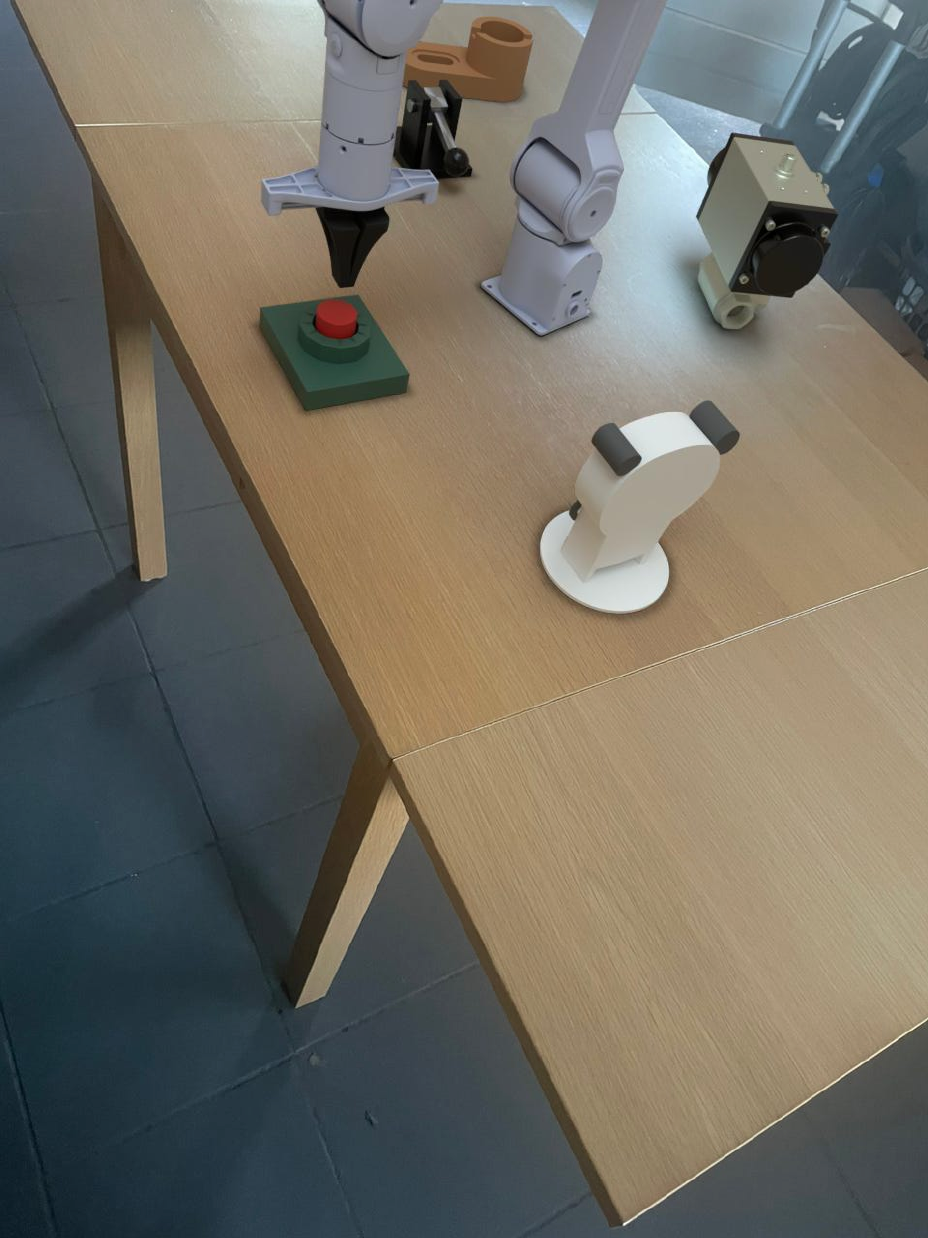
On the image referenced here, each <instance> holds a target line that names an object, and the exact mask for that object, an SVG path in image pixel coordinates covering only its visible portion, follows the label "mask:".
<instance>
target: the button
mask: <svg viewBox="0 0 928 1238" xmlns="http://www.w3.org/2000/svg"><path fill="white" fill-rule="evenodd" d="M356 320H357V312H356V310H355V308H354V307H353V306H352V305H350V304H349V303H347V302H344V301H341V300H326V301H323V302H322V303H320V304H319V305H318V307H317V313H316V329H317V331H318V332H319V333H321V334H322V335H324V336H326V337H329V338H334V339H339V340H340V339H346V338H350V337H352V336H353V335H354V333H355V328H356Z"/></svg>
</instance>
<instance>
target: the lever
mask: <svg viewBox="0 0 928 1238" xmlns="http://www.w3.org/2000/svg"><path fill="white" fill-rule="evenodd" d="M423 90H424V91H425V92H426V93H427V95H428V96H429V97H430V98H431V105H430V111H429V117H428V123H427V124H432V123H434V125H435V128H436V130H437V133H438V135H439V138H440V140H441V143H442V145H443V148H444V150H445V152H446V153H445V155H444V158H443V166H444V169H445V170H446V172H447V173H448V174H449V175H451V176H455V177H454V178H458V177H457V176H461V175H463V174H464V173H465V172H466V171H467V169H468V166H469V165H470V158H469V156H468V153H467V152H466V151H465V150H464V149H463V148H461V147H458V146H457V144H456V141H455V142H454V139H453V137H452V135H451V132H450V130H449V127H448V125H447V122H446V120H445V117H444V116H445V114H446V111H447V109H448V105H447V102H446V100H445V97H444V95H443V93H442V90H441V88H440V87H424V88H423Z"/></svg>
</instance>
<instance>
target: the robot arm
mask: <svg viewBox="0 0 928 1238" xmlns="http://www.w3.org/2000/svg"><path fill="white" fill-rule="evenodd" d="M316 2H317V4H318V5H319V7H320V8H321V10H322V12H323V13H322V14H323V16H324V31H323V33H324V34H323V35H324V37H325V38H326V44H325V45H326V46H325V61H324V74H323V90H322V101H321V114H320V115H321V117H320V132H319V146H318V160H317V165H314V166H312V167H308V168H304V169H302V170H298V171H295V172H291V173H288V174H285V175H281V176H276V177H270V178H262V179H260V180H261V183H260V184H261V185H260V187H261V188H260V203H261V204H262V207H263V208H264V210H265V212H266V213H267V215H268V216H269V217H272V216H281V215H282V211H288V210H302V209H315V211H316V213H317V214H316V215H317V216H318V220H319V222H320V225H321V227H322V230H323V234H324V237H325V240H326V244H327V250H328V254H329V260H330V269H331V277H332V279H333V280H334V281H335V283H336V285H337V287H338V288H339V289H346V288H347V289H349V288H354V287H355V285H356V282H357V280H358V277H359V275H360V272H361V271H362V270H361V269H362V268H363V266H364V264H365V261H366V260H367V257H368V256H369V254H370V253H371V251H372V249H373V248H374V246H375V245H376V244H377V243H378V242H379V240H380V239H381V238H382V237H383V236H384V235H385V234H386V233H387V232H388V230H389V226H390V221H391V220H390V219H391V217H390V216H389V214H388V212H387V211H386V209H385V207H387V206H389V205H392V204H395V203H402V202H417V201H421V203H422V204H423V205H435V204H436V202H437V196H438V192H439V191H438V190H439V186H440V182H439V180H438V178H435V177H434V175H433V174H432V172H431V171H430V170H413V169H405V168H402V167H397V166H392V165H393V159H394V155H393V152H394V145H395V137H396V129H397V126H398V121H399V114H400V108H401V107H400V105H401V99H402V92H403V78H404V70H405V63H406V56H407V50H408V49H411V48H413V47H415V46H416V45H417V43H418V42H419V41H421V40H422V38H423V37H424V35H425V34H426V31H427V29H428V28H429V25H430V22H431V20H432V17H434V14H435V13H436V12H437V11H438V10H440V9H441V4H443V3H444V0H316ZM667 3H668V0H598V1H597V3H596V7H595V9H594V11H593V15H592V18H591V20H590V23H589V25H588V29H587V31H586V34H585V37H584V39H583V41H582V44H581V47H580V51H579V53H578V56H577V58H576V61H575V64H574V67H573V70H572V72H571V74H570V75H571V76H570V77H569V81H568V83H567V86H566V88H565V90H564V93H563V96H562V99H561V102H560V105H559V108H558V110H557V111H554V112H551V113H547V114H545V115H542V116H540V117H538V118H536V119H534V121H533V123H532V126H531V129H530V131H529V133H528V136H527V138H526V139H525V141H524V142H523V144H522V145H521V146H520V147H519V148H518V150H517V152H516V154H515V156H514V158H513V160H512V162H511V166H510V170H509V184H510V187H511V189H512V190H513V192H515V194H516V195H515V199H514V204H513V205H514V206H515V207H516V208H517V213H516V217H515V222H514V225H513V229H512V232H511V237H510V241H509V244H508V249H507V251H506V257H505V260H504V264H503V268H502V271H501V274H499V275H496V276H494V277H491V278H489V279H486V280H483V281H481V283H480V287H481V289H483V290H484V291H485V292H486V293H488V294H489V295H490V296H491V297H492V298H493V299H495V300H496V301H497V302H499V303H500V304H501V305H502V306H503V307H504V308H506V309H507V310H508V311H509V312H510V313H511V314H513V316H515V317H516V318H517V319H519V321H521V322H522V323H523V324H525V326H527V327H528V328H530V329H531V331H533V332H534V333H535V334H537V336H545V335H546V334H549V333H551V332H553V331H556V330H558V329H561V328H563V327H565V326H568V325H569V324H572V323H574V322H577V321H578V320H581V319H584V318H586V317H588V316H590V314H591V310H590V308H589V306H590V303H591V299H592V297H593V294H594V292H595V288H596V286H597V283H598V280H599V277H600V274H601V271H602V268H603V255H602V254H601V253H600V251H598V249H597V248H596V247H595V245H594V244H593V242H592V240H591V238H593V237H594V236H596V235H598V233H600V231H601V230H602V229H603V228H604V227H605V226H606V224H608V222H609V220H610V218H611V217H612V214H613V212H614V209H615V206H616V201H617V197H618V196H617V194H618V188H619V183H620V181H621V178H622V175H623V173H624V171H625V167H624V163H623V159H622V156H621V153H620V149H619V147H618V142H617V140H616V136H615V133H614V132H615V131H614V130H615V128H616V126H617V124H618V121H619V118H620V116H621V114H622V111H623V109H624V106H625V105H626V101H627V100H628V97H629V94H630V92H631V89H632V88H633V84H634V82H635V80H636V77H637V75H638V72H639V70H640V69H641V66H642V63H643V60H644V58H645V56H646V54H647V51H648V49H649V46H650V44H651V41H652V39H653V36H654V34H655V31H656V28H657V26H658V24H659V22H660V19H661V17H662V14H663V13H664V10H665V7H666V5H667Z"/></svg>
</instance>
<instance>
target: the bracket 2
mask: <svg viewBox="0 0 928 1238" xmlns="http://www.w3.org/2000/svg"><path fill="white" fill-rule="evenodd" d="M438 87H440V88H441V90H442V93H443V95H444V97H445V100H446V102H447V105H448V109H447V111H446V114H445V116H444V117H445V120H446V122H447V125H448V127H449V130H450V132H451V135H452V137H453V139H454V142H455V143H456V137H457V131H458V125H459V119H460V115H461V109H462V104H463V97H461V96H460V95H459V94H458V92H457V91H456V90H455V89H454V88H453V86H452V85H451V84H450V83H449V81H448V80H439V86H438ZM430 105H431V98H430V97H429V96H428V95H427V93H426V92H425V91H424V90H423V88H422V87H421V86H420V84H419V83H418V82H417V81H416V80H408V87H406V95H405V103H404V110H403V115H402V117H403V118H402V124H401V125H397V129H396V137H395V145H394V152H393V158H395V159H396V161H397V162H398V164H399V165H400V167H401V168H405V169H413V170H430V171H431V172H432V174H433V175H434V177H435V178H436V179H447V178H448V179H450V178H451V179H452V178H465V177H467V178H468V177H472V174H473V169H474V168H473V167H472V166H471V164H469V166H468V169H467V171H466V172H465V173H464V174H463V175H461V176H457V177H455V176H451V175H449V174H448V173H447V172H446V170H445V169H444V166H443V158H444V155H445V153H446V152H445V150H444V148H443V145H442V143H441V140H440V138H439V135H438V133H437V130H436V128H435V125H434V123H431V124H429V123H428V117H429V111H430Z"/></svg>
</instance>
